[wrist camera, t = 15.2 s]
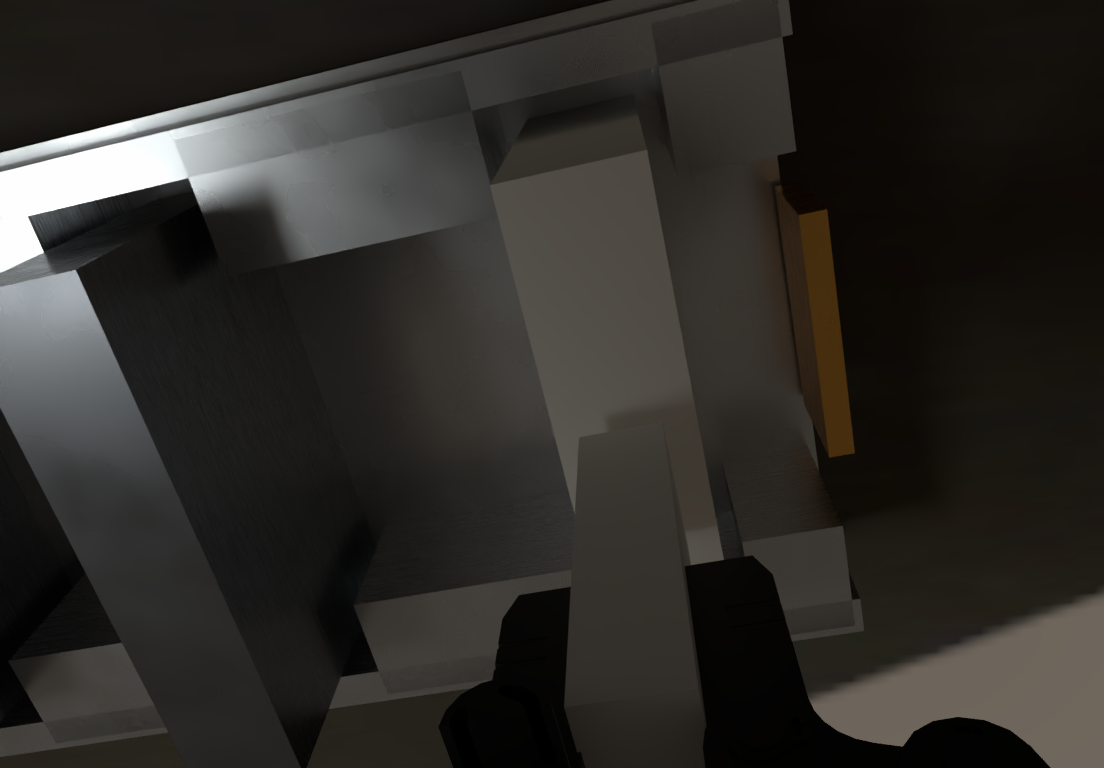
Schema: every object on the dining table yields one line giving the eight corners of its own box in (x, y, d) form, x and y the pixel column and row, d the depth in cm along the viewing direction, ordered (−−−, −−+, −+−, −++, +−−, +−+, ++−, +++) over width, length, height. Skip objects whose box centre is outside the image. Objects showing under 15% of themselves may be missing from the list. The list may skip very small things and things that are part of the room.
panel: (623, 529, 27) (631, 735, 19) (527, 119, 22) (489, 185, 15) (712, 514, 26) (753, 718, 19) (632, 94, 22) (647, 149, 14)
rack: (-27, 671, 31) (-245, 909, 23) (-298, 226, 25) (-720, 340, 17) (836, 532, 27) (934, 761, 19) (763, -39, 21) (862, -52, 13)
